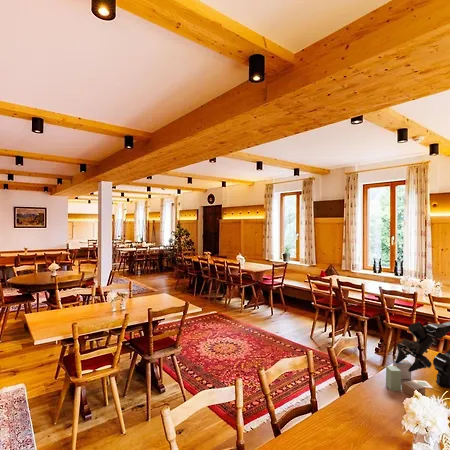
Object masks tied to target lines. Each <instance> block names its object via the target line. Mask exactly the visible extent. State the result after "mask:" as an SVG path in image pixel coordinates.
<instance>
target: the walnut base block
mask: <svg viewBox="0 0 450 450" xmlns="http://www.w3.org/2000/svg"><path fill="white" fill-rule="evenodd" d="M412 380H413V379H410V380H408V381H405V382H401V391H402V392H404V393H406V394H407V395H409V396H412V397H413V395H414V391H415V390H417V391H418V392H420V393H421V394H422V396H425V395H426V393H425V392H426V388H425V387H424V386H422V385H420V384H418V383H416V382H414V381H412Z"/></svg>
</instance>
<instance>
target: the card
mask: <svg viewBox="0 0 450 450" xmlns="http://www.w3.org/2000/svg"><path fill="white" fill-rule="evenodd" d="M411 380H412V381H414V382H416V383H418V384H420V385H422V386H424V387H425V389H434V387H433V386H432V385H431V384H430V383H429V382H427V381H426V380H415V379H411Z"/></svg>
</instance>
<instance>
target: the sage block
mask: <svg viewBox="0 0 450 450" xmlns="http://www.w3.org/2000/svg"><path fill="white" fill-rule="evenodd" d="M385 366H386V367H385V386H386V388H388V389H389V390H390V391H393V392H394V391H396V392H400V391H402V378H401V370H400V369H398V368H397V367H396V366H393V365H389V366H387V365H385Z"/></svg>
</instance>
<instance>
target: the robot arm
mask: <svg viewBox="0 0 450 450" xmlns="http://www.w3.org/2000/svg"><path fill="white" fill-rule="evenodd" d="M408 331H409V333H410V334H412V335H413V337H415V339H417V340H412V341H410V340H408V339H406V338H403V339H402V341H401V342H398V343H396V346H395V347H396V349H397V351H398V353H397V356H396V359H395V360H396V363H399V362H401V361H402V360H406V359H407V358H408V356H411V357H413V358H414V362H413V363H411V364H412V366H411V367H410V368H409V370H408V371H409V372H411V373H412V372H413V371H417V370H422V369H427V368H428V369H431V368H432V364H433V366H434V367H433V368H434V369H435V371H437V374H436V380H435V382H436V383H437V384H438V385H439V386H440V387H442V388H447V389H450V349H448V351H447V352H445V353H443V352H438V353H437V354H436V355H435V356H434V357H433V359H432V362H431V360H429V358H428V357H427V356H425V355H424V354H425V353H426V354H427V353H428V352H429V351H428V349H429V348H431V346H432V345H435V346H438V344H437V343H438V342H437V339H442V338H444V337H446V335H448V333H450V321H447V322H444V323H434V322H433V323H428V324H427V325H423V323H421V322H420V321H417V322H413V323H411V324H409V325H408ZM435 338H436V339H435Z"/></svg>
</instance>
